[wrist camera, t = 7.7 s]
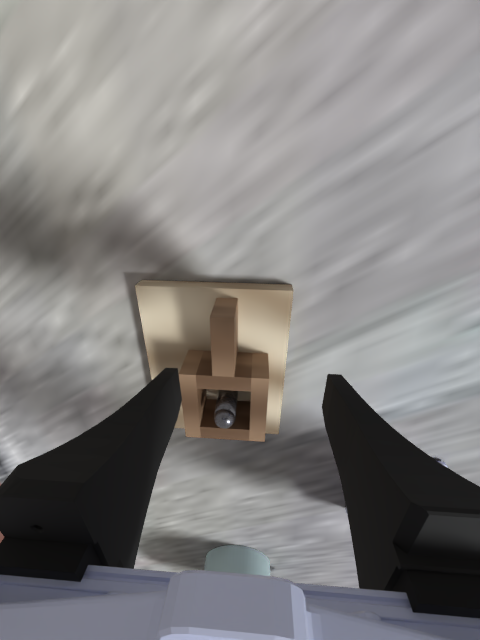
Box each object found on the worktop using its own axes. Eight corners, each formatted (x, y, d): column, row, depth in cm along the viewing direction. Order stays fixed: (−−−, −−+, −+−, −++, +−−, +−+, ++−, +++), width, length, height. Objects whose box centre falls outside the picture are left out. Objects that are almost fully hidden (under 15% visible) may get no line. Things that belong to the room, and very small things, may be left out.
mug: (201, 570, 42) (185, 676, 33) (211, 539, 37) (196, 653, 29) (289, 586, 42) (297, 695, 33) (310, 559, 38) (324, 675, 29)
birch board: (277, 423, 26) (278, 434, 25) (164, 417, 27) (160, 426, 26) (291, 284, 20) (293, 290, 19) (141, 280, 21) (134, 285, 20)
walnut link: (264, 412, 24) (264, 441, 22) (193, 408, 25) (185, 436, 22) (271, 299, 19) (273, 319, 17) (183, 296, 20) (171, 315, 17)
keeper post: (238, 397, 24) (234, 434, 20) (219, 396, 24) (212, 432, 20) (238, 382, 23) (234, 418, 20) (219, 381, 23) (211, 417, 20)
